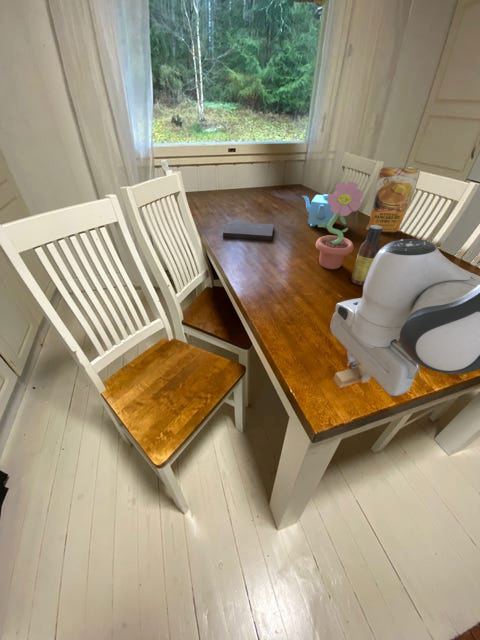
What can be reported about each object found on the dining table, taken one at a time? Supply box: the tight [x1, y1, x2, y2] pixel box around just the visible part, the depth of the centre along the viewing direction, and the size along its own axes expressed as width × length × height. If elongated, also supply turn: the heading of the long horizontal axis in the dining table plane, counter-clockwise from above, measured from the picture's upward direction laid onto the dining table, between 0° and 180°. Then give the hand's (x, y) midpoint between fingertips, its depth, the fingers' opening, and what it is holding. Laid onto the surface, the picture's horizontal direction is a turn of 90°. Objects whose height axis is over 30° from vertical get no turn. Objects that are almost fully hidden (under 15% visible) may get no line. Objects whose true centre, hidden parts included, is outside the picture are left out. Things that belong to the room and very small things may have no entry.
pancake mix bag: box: [365, 167, 421, 233], centre depth 130 cm, size 7×19×28 cm, turn 85°
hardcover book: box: [222, 221, 275, 241], centre depth 133 cm, size 16×23×2 cm
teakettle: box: [301, 193, 334, 229], centre depth 140 cm, size 19×19×15 cm
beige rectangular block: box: [333, 364, 374, 389], centre depth 60 cm, size 10×2×2 cm, turn 109°
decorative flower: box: [315, 181, 363, 270], centre depth 99 cm, size 15×14×30 cm
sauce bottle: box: [351, 225, 383, 286], centre depth 92 cm, size 7×6×20 cm
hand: (357, 373), depth 60 cm, fingers closed on beige rectangular block, 2 cm apart
